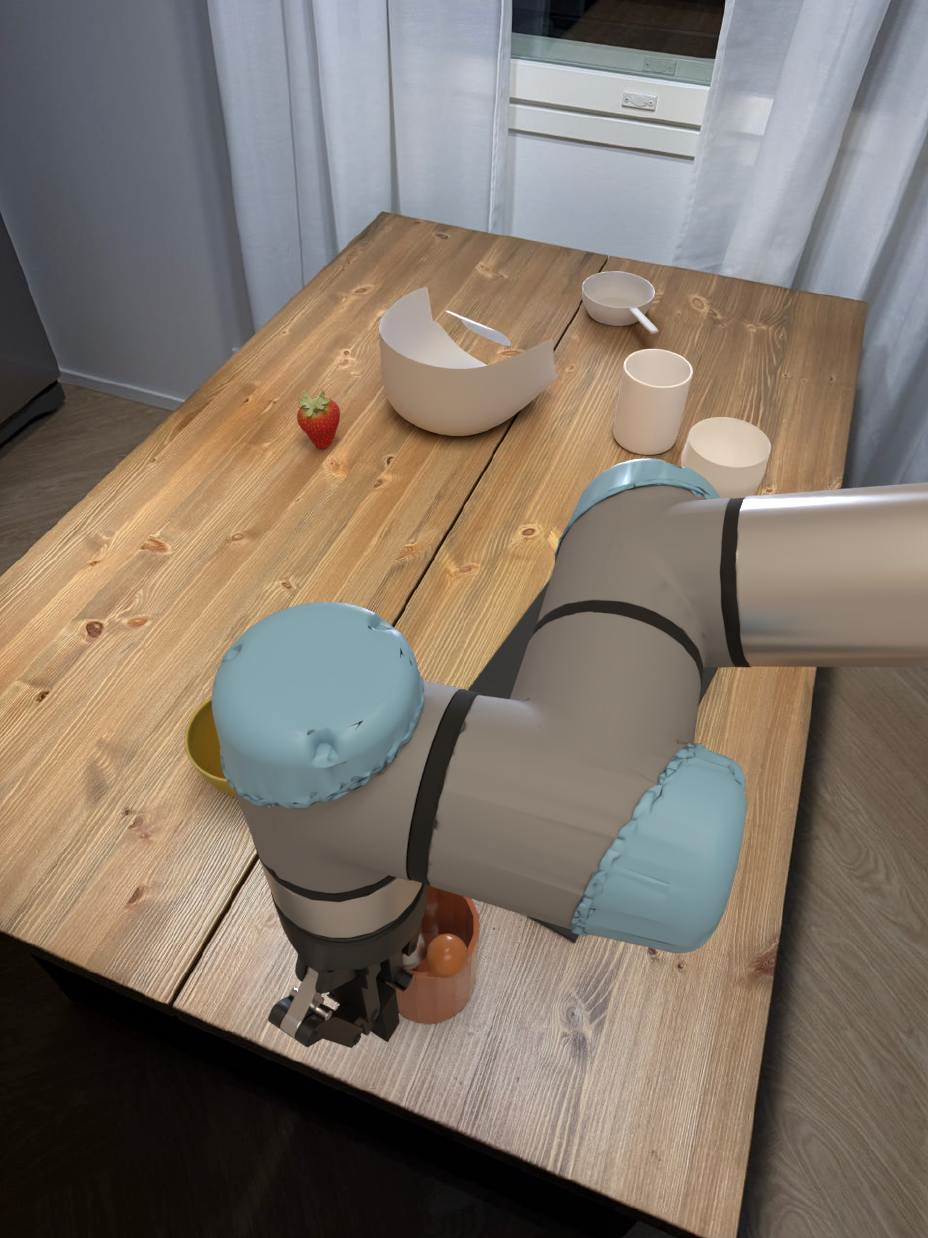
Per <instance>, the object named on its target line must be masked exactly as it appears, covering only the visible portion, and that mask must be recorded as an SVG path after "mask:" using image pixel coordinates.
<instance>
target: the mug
mask: <svg viewBox="0 0 928 1238" xmlns="http://www.w3.org/2000/svg"><path fill="white" fill-rule="evenodd" d="M693 375H694V370H693V366H692V365H691V363H690V362H689V360H687V359H686V358H685V357H684V356H682V355H680V354H678V353H676V352H673V351H671V350H665V349H660V348H647V349H640V350H637V351H634V352H632V353H630V354H629V355H628V356H626V358H625V360H624V362H623V367H622V372H621V378H620V384H619V390H618V395H617V402H616V406H615V412H614V418H613V425H612V434H613V438H614V440H615V441H616V443H618V445H619V446H621V448H623V449H624V450H626V451H628V452H630V453H632V454H637V455H640V456H641V455H643V456H656V455H659V454H663V453H665V452H667V451H669V450H670V449H671V448H672V447H673V446H674V445H675V443H676V442H677V439H678V437H679V436H678V435H679V432H680V429H681V426H682V425H681V424H682V421H683V416H684V411H685V408H686V403H687V399H688V395H689V391H690V387H691V383H692V378H693Z"/></svg>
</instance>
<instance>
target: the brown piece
mask: <svg viewBox="0 0 928 1238" xmlns="http://www.w3.org/2000/svg"><path fill="white" fill-rule="evenodd" d="M426 961H427V965H428V967H429V969H430V970H431V971H432V973H434V974H435V975H436V976H438V977H441V978H446V979H448V978H453V977H456V976H458V975H459V974H460V973H461V972H462V971H463V970H464V968H465V967H466V964H467V961H468V951H467V947H466V945H465V943H464V942H463V941H462V940H461V939H460V938H459V937H458V936H456V935H453V934H441V935H439V936H437V937H435V938H434V939H433V940H432V941H431V942H430V944H429V945H428V948H427V951H426Z"/></svg>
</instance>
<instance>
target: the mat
mask: <svg viewBox="0 0 928 1238" xmlns="http://www.w3.org/2000/svg"><path fill="white" fill-rule="evenodd" d="M549 582H550V579H549V580H548V581H547V582H546V584H545V585H544V586H543V588H542V589H541V591H540V592H539V593H538V594H537V596H536V598H534V600H533V601H532V603H531V604H530V606H529V607H528V608H527V609H526V611H525V612H524V613H523V615H522V616H521V618H520V619H519V620H518V621H517V623H516V624H515V626H514V627H513V628H512V630H511V631H510V632H509V634H508V635H507V636H506V637H505V639H504V640H503V642H502V643H501V644H500V646H499V647H498V648H497V650H495V652H494V653H493V655H492V657H491V658H490V659H489V660H488V662H487V664H486V665H485V666H484V667H483V669H482V670H481V671H480V673H478V675H477V677H476V678H475V679H474V680H473V682H472V683H471V685H470V686H469V687H468V689H467V690H469V691H473V692H477V693H479V694H480V693H482V694H483V696H489V697H496V698H504V699H510V697H511V694H512V691H513V688H514V685H515V682H516V679H517V676H518V673H519V670H520V667H521V664H522V661H523V658H524V655H525V652H526V649H527V646H528V643H529V641H530V639H531V636H532V633H533V631H534V629H535V626H536V624H537V621H538V618H539V614H540V611H541V608H542V605H543V601H544V598H545V595H546V591H547V588H548V585H549ZM718 669H719V668H718V667H707V668H704V669H703V679H702V687H701V690H700V697H699V703H698V707H699V706H700V703H701V702H702V700H703V698H704V696H705V694H706V692H707V690H708V688H709V687H710V684H711V683H712V681H713V679H714V677H715V675H716V673H717V671H718ZM527 917H528V918H530V919H531V920H532V921H535V922H536V923H538V924H540V925H542V926H543V927H546V929H549V930H550V931H552V932H554V933H555V934H557V935H559V936H561V937H562V938H564V939H566V940H568V941H569V942H572V943H573V944H576V942H577V941H578V938H579V936H580V935H578V934H575V933H572V930H571V929H568V928H564V927H561V926H558V925H555V924H551V923H548V922H545V921H542V920H538V919H535V918H532V917H529V916H527Z"/></svg>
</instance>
